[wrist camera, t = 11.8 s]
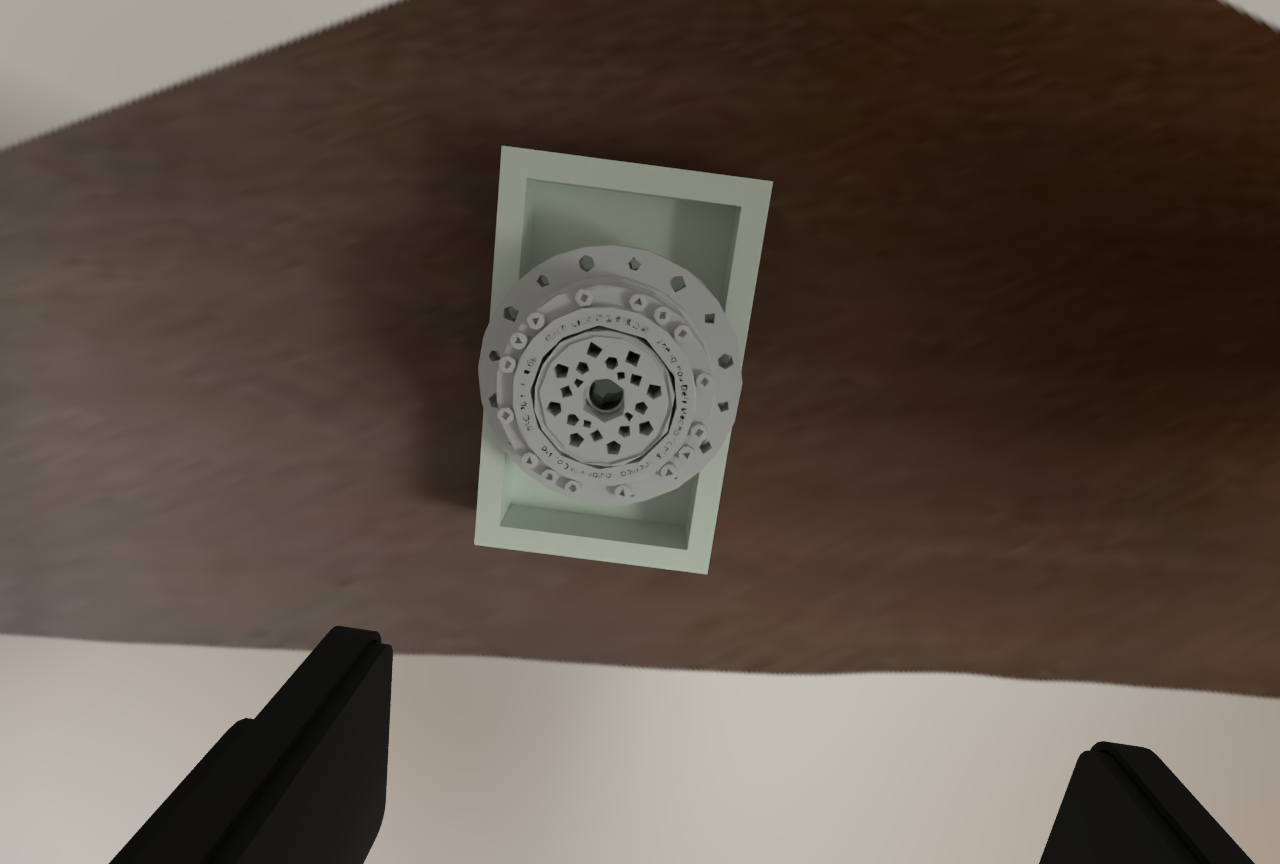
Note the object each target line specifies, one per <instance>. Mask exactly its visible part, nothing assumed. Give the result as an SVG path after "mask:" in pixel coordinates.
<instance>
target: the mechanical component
mask: <svg viewBox="0 0 1280 864" xmlns="http://www.w3.org/2000/svg"><path fill="white" fill-rule="evenodd" d="M585 255H587V256H590V257H593V261H594V265H595V267H593V268H592V269H585V268H584V266H583V264H582V262H581V261H582V259H583V258H584V256H585ZM632 259H636V260H637V261H638V262H639V263H640V267H638V268H635V269H633V268H632V265H631V262H630V261H631V260H632ZM543 275H544V276H547V279H548V282H549V284H544V283H543V281H542V279H541V278H542V276H543ZM674 276H682V277H683V279H684V282H685V283H684V285H683V287H682V288H680V289H676V290H675V289H674V288H673V287H672V286H671V285H670V281H671V280H672V278H673V277H674ZM510 306H512V307H514V308H515V309H516V310H518V311H519V312H518V314H517V317H516V318H512V316H511V314H510V313H509V311H508V310H509V308H510ZM705 314H713V319H710V320H705ZM569 335H570V336H569ZM557 343H558V345H556V344H557ZM555 345H556V346H555ZM496 351H498V353H499V356H500V357H497V354H496ZM724 354H728V355H730V356H731V358H730V360H729V362H728V363H718V358H720V357H721V356H722V355H724ZM668 368H669V369H670V371H671V372H670V371H669V369H668ZM478 375H479V385H480V393H481V402H482V405H483V408H484V411H485V414H486V417H487V419H488V422H489V425H490V428H491V429H492V431H493V433H494V435H495V436H496V438H497V440H498V441H499V443H500V445H501V447H502V448H503V450H504V451H505V452H506V453H507V454H508V456H509V457H510V458H511V459H512V460H513V461H514V462H515V463H516V464H517V465H518V466H519V468H520V469H521V470H522V471H524V472H525V473H527V474H528V475H529V476H531V477H532V478H534V479H535V480H536V481H538V482H539V483H541V484H542V485H543V486H545V487H546V488H548V489H549V490H552V491H555V492H557V493H560V494H563V495H565V496H568V497H571V498H574V499H576V500H579V501H582V502H591V503H600V504H609V505H624V504H630V503H635V502H641V501H646V500H649V499H651V498H654V497H657V496H659V495H662V494H664V493H667V492H670V491H672V490H675V489H677V488H678V487H680V486H681V485H682V484H684V483H685V482H686V481H688V480H689V479H690V478H692V477H693V476H695V475H696V474H697V473H699V472H700V471H701V470H702V469H703V468H704V467H705V466H706V465H707V464H708V463H709V461H710V460H711V459H712V458H713V457H714V456H715V455H716V453H717V452H718V451H719V450H720V448H721V446H722V444H723V443H724V441H725V439H726V437H727V435H728V433H729V431H730V429H731V428H732V426H733V424H734V422H735V418H736V413H737V408H738V403H739V398H740V393H741V388H742V383H743V382H742V374H741V366H740V358H739V351H738V343H737V338H736V336H735V333H734V331H733V329H732V327H731V325H730V323H729V321H728V319H727V317H726V315H725V313H724V311H723V309H722V307H721V305H720V303H719V302H718V300H717V299H716V298H715V297H714V296H713V294H712V293H711V292H710V291H709V290H708V288H707V287H706V286H705V285H704V283H703V282H702V281H701V280H700V279H698V278H697V277H696V276H694V275H693V274H692V273H690V272H689V271H688V270H686V269H684V268H683V267H681V266H679V265H678V264H676V263H675V262H673V261H671V260H670V259H668V258H666V257H665V256H662V255H659V254H656V253H654V252H651V251H648V250H645V249H643V248H637V247H628V246H619V245H611V244H603V245H597V246H590V247H584V248H580V249H576V250H572V251H568V252H564V253H561V254H557V255H555V256H553V257H552V258H550V259H548V260H546V261H545V262H543V263H541V264H540V265H538V266H536V267H534V268H533V269H532V270H530V271H529V272H528V273H527V274H526V275H525V276H523V277H522V278H521V279H520V280H519V281H518V282H517V283H515V284H514V285H513V286H512V287H511V289H510V290H509V291H508V293H507V294H506V295H505V297H504V298H503V299H502V301H501V302H500V303H499V305H498V306H497V307H496V308H495V311H494V313H493V315H492V318H491V320H490V322H489V324H488V327H487V329H486V331H485V334H484V336H483V342H482V348H481V354H480V359H479V365H478ZM599 379H610V380H612V381H613V382H614V383H616V384H617V385H619V386H620V387H621V388H622V391H619V392H617V393H607V394H606V395H605V397H604V398H602V397H601V396H600V395H598V394H597V393H595V392H594V389H595V387H596V383H595V380H599ZM496 394H497V400H496ZM723 402H725V403H724V405H720V404H718V403H723ZM706 439H708V440H709V442H707V443H705V444H704V445H702V446H701V443H702V442H703V440H706Z"/></svg>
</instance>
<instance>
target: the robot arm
mask: <svg viewBox="0 0 1280 864" xmlns="http://www.w3.org/2000/svg"><path fill="white" fill-rule="evenodd" d="M392 661H393V650H392V646H391V645H388V644H381V637H380V634H379V633H378V632H376V631H370V630H363V629H357V628H350V627H343V626H335V627H334V628H332V629H331V630H330V631H329V632H328V634H327V635H326V636H325V637H324V638H323V639H322V641H321V642H320V643H319V644H318V645H317V646H316V648H315V649H314V650H313V651H312V652H311V654H310V655H309V656H308V657H307V658H306V659H305V661H304V662H303V663H302V664H301V665H300V666H299V667H298V669H297V670H296V671H295V672H294V673H293V675H292V676H291V677H290V678H289V679H288V680H287V682H286V683H285V684H284V685H283V686H282V687H281V689H280V690H279V691H278V692H277V693H276V694H275V696H274V697H273V698H272V699H271V700H270V701H269V703H268V704H267V705H266V706H265V707H264V708H263V709H262V711H261V712H260V713H259V714H258V715H257V717H256V718H255V719H248V718H245V719H242V720H240V721H237V722H236V723H235V724H234V725H233V726H232V727H231V728H230V729H229V730H227V732H226V733H225V734H224V735H223V736H222V737H221V738H220V740H219V741H218V742H217V743H216V744H215V745H214V746H213V748H211V750H210V751H209V752H208V753H207V754H206V755H205V756H204V757H203V759H202V760H201V761H200V762H199V763H198V764H197V765H196V766H195V767H194V769H193V770H192V771H191V772H190V773H189V774H188V775H187V776H186V778H185V779H184V780H183V781H182V782H181V783H180V784H179V785H178V787H177V788H176V789H175V790H174V791H173V792H172V793H171V795H170V796H169V797H168V798H167V799H166V800H165V801H164V802H163V803H162V805H161V806H160V807H159V808H158V809H157V810H156V811H155V812H154V814H153V815H152V816H151V817H150V818H149V819H148V820H147V821H146V823H145V824H144V825H143V826H142V827H141V828H140V829H139V830H138V832H137V833H136V834H135V835H134V836H133V837H132V838H131V839H130V841H129V842H128V843H127V844H126V845H125V846H124V847H123V848H122V850H121V851H120V852H119V853H118V854H117V855H116V856H115V857H114V858H113V860H112V861H111V862H110V863H109V864H363V863H364V861H365V859H366V857H367V855H368V853H369V851H370V849H371V847H372V845H373V843H374V841H375V838H376V837H377V834H378V832H379V829H380V826H381V824H382V820H383V815H384V811H385V804H386V785H387V764H388V744H389V742H388V741H389V723H390V722H389V721H390V701H391V682H392ZM1039 864H1254V862H1253V861H1252V860H1251V859H1250V858H1249V857H1248V856H1247V855H1246V853H1245V852H1244V851H1243V850H1242V849H1241V848H1240V847H1239V846H1238V845H1237V844H1236V842H1235V841H1234V840H1233V839H1232V838H1231V837H1230V836H1229V835H1228V834H1227V832H1226V831H1225V830H1224V829H1223V828H1222V827H1221V826H1220V825H1219V824H1218V822H1217V821H1216V820H1215V819H1214V818H1213V817H1212V816H1211V815H1210V814H1209V812H1208V811H1207V810H1206V809H1205V808H1204V807H1203V806H1202V805H1201V804H1200V803H1199V801H1198V800H1197V799H1196V798H1195V797H1194V796H1193V795H1192V794H1191V792H1190V791H1189V790H1188V789H1187V788H1186V787H1185V786H1184V785H1183V784H1182V783H1181V781H1180V780H1179V779H1178V778H1177V777H1176V776H1175V775H1174V774H1173V773H1172V771H1171V770H1170V769H1169V768H1168V767H1167V766H1166V765H1165V764H1164V763H1163V761H1162V760H1161V759H1160V758H1159V757H1158V756H1157V755H1156V754H1155V753H1154V752H1152V751H1151V750H1150V749H1147V748H1144V747H1138V746H1131V745H1125V744H1118V743H1111V742H1105V741H1103V742H1098V743H1096V744H1095V745H1094V746H1093V747H1092V748H1091V750H1090V751H1084V752H1083V753H1082V754H1081V755H1080V756H1079V758H1078V760H1077V763H1076V766H1075V768H1074V771H1073V774H1072V776H1071V779H1070V782H1069V784H1068V788H1067V790H1066V792H1065V795H1064V798H1063V801H1062V804H1061V806H1060V809H1059V811H1058V814H1057V817H1056V820H1055V822H1054V825H1053V828H1052V830H1051V833H1050V836H1049V839H1048V841H1047V844H1046V847H1045V849H1044V852H1043V855H1042V857H1041V860H1040V863H1039Z"/></svg>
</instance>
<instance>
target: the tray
mask: <svg viewBox="0 0 1280 864" xmlns="http://www.w3.org/2000/svg"><path fill="white" fill-rule="evenodd" d="M772 185H773V181H766V180H758V179H751V178H743V177H736V176H728V175H721V174H713V173H705V172H698V171H690V170H683V169H675V168H668V167H660V166H653V165H645V164H637V163H630V162H622V161H615V160H607V159H600V158H592V157H585V156H577V155H569V154H562V153H554V152H547V151H539V150H532V149H524V148H517V147H509V146H502V149H501V163H500V178H499V192H498V207H497V222H496V236H495V251H494V265H493V280H492V295H491V309H490V320H491V318H492V315H493V313H494V311H495V308H496V307H497V306H498V305H499V303H500V302H501V301H502V299H503V298H504V297H505V295H506V294H507V293H508V291H509V290H510V289H511V287H512V286H513V285H514V284H515V283H517V282H518V281H519V280H520V279H521V278H522V277H523V276H525V275H526V274H527V273H528V272H529V271H530V270H532V269H533V268H534V267H536V266H538V265H540V264H541V263H543V262H545V261H546V260H548V259H550V258H552V257H553V256H555V255H557V254H561V253H564V252H568V251H572V250H576V249H580V248H584V247H590V246H597V245H603V244H611V245H619V246H628V247H637V248H643V249H645V250H648V251H651V252H654V253H656V254H659V255H662V256H665V257H666V258H668V259H670V260H671V261H673V262H675V263H676V264H678V265H679V266H681V267H683V268H684V269H686V270H688V271H689V272H690V273H692V274H693V275H694V276H696V277H697V278H698V279H700V280H701V281H702V282H703V283H704V285H705V286H706V287H707V288H708V290H709V291H710V292H711V293H712V294H713V296H714V297H715V298H716V299H717V300H718V302H719V303H720V305H721V307H722V309H723V311H724V313H725V315H726V317H727V319H728V321H729V323H730V325H731V327H732V329H733V331H734V333H735V336H736V338H737V343H738V351H739V358H740V366H741V370H742V364H743V358H744V352H745V346H746V340H747V334H748V328H749V322H750V316H751V310H752V305H753V299H754V293H755V287H756V281H757V275H758V269H759V263H760V257H761V251H762V245H763V239H764V233H765V227H766V221H767V215H768V209H769V203H770V197H771V191H772ZM581 262H582V264H583V266H584V268H585V269H592V268H593V267H595V265H594V261H593V257H590V256H587V255H585V256H584V258H583V259H582V261H581ZM630 262H631V265H632V268H633V269H635V268H638V267H640V263H639V262H638V261H637V260H636V259H632V260H631V261H630ZM541 279H542V281H543V283H544V284H549V282H548V279H547V276H544V275H543V276H542V278H541ZM684 283H685V282H684V279H683V277H682V276H674V277H673V278H672V280H671V281H670V285H671V286H672V287H673V288H674V289H675V290H676V289H680V288H682V287H683V285H684ZM508 311H509V313H510V314H511V316H512V318H516V317H517V314H518V312H519V311H518V310H516V309H515V308H514V307H512V306H510V308H509V310H508ZM710 319H713V314H705V320H710ZM569 336H570V335H569ZM556 345H558V343H557V344H556ZM556 345H555V346H556ZM496 354H497V357H500V356H499V353H498V351H496ZM730 358H731V356H730V355H728V354H724V355H722V356H721V357H720V358H718V363H728V362H729V360H730ZM668 369H669V368H668ZM669 371H670V369H669ZM670 372H671V371H670ZM595 383H596V387H595V389H594V392H595V393H597V394H598V395H600V396H601V397H602V398H604V397H605V395H606V394H607V393H617V392H619V391H622V388H621V387H620V386H619V385H617V384H616V383H614V382H613V381H612V380H610V379H599V380H595ZM496 400H497V394H496ZM724 403H725V402H723V403H718V404H720V405H724ZM731 430H732V428H731V429H730V431H729V433H728V435H727V437H726V439H725V441H724V443H723V444H722V446H721V448H720V450H719V451H718V452H717V453H716V455H715V456H714V457H713V458H712V459H711V460H710V461H709V463H708V464H707V465H706V466H705V467H704V468H703V469H702V470H701V471H700V472H699V473H697V474H696V475H695V476H693V477H692V478H690V479H689V480H688V481H686V482H685V483H684V484H682V485H681V486H680V487H678V488H677V489H675V490H672V491H670V492H667V493H664V494H662V495H659V496H657V497H654V498H651V499H649V500H646V501H641V502H635V503H630V504H624V505H609V504H600V503H591V502H582V501H579V500H576V499H574V498H571V497H568V496H565V495H563V494H560V493H557V492H555V491H552V490H549V489H548V488H546V487H545V486H543V485H542V484H541V483H539V482H538V481H536V480H535V479H534V478H532V477H531V476H529V475H528V474H527V473H525V472H524V471H522V470H521V469H520V468H519V466H518V465H517V464H516V463H515V462H514V461H513V460H512V459H511V458H510V457H509V456H508V454H507V453H506V452H505V451H504V450H503V448H502V447H501V445H500V443H499V441H498V440H497V438H496V436H495V435H494V433H493V431H492V429H491V428H490V425H489V422H488V419H487V417H486V414H485V411H483V426H482V441H481V455H480V470H479V484H478V499H477V514H476V528H475V543H474V545H480V546H488V547H496V548H503V549H511V550H519V551H527V552H535V553H543V554H551V555H559V556H566V557H574V558H582V559H590V560H598V561H606V562H614V563H622V564H629V565H637V566H645V567H653V568H661V569H669V570H677V571H685V572H692V573H700V574H707V573H708V567H709V561H710V555H711V549H712V543H713V537H714V531H715V525H716V519H717V513H718V507H719V501H720V495H721V489H722V483H723V477H724V471H725V465H726V459H727V453H728V447H729V442H730V436H731ZM707 442H709V440H708V439H706V440H703V442H702V443H701V446H702V445H704V444H705V443H707Z"/></svg>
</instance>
